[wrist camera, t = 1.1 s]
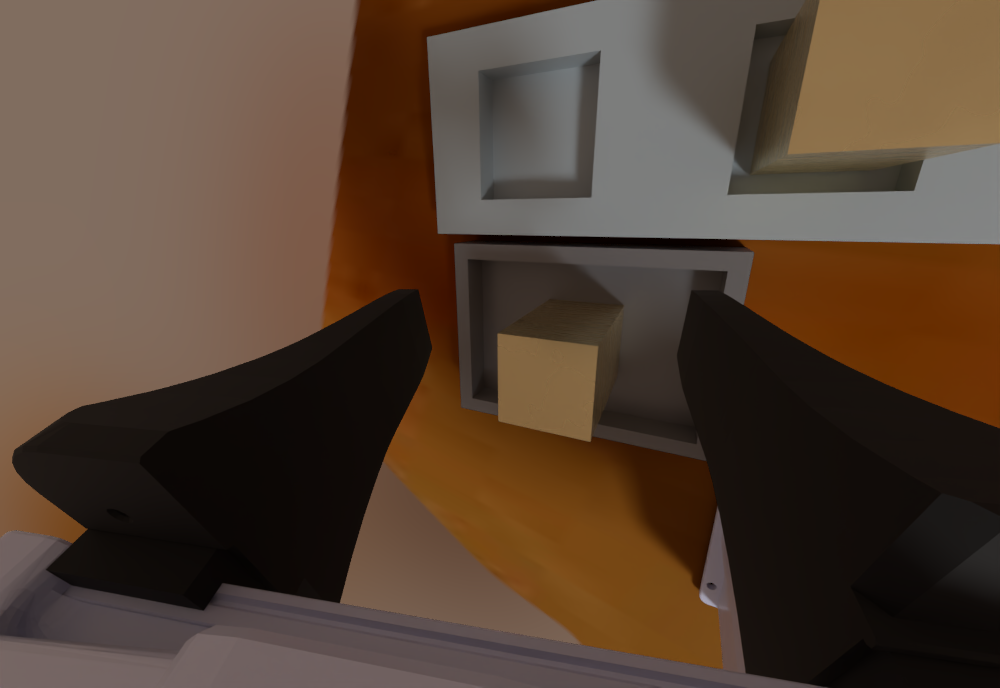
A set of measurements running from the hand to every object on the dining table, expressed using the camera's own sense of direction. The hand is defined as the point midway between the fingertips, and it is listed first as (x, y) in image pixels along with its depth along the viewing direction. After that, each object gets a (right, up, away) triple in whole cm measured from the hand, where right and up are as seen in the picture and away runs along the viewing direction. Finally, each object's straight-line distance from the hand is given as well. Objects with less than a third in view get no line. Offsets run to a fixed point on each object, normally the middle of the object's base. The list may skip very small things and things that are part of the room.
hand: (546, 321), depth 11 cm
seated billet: (+11, +8, +4) cm, 14 cm away
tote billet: (+3, 0, +11) cm, 11 cm away
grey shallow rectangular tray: (+4, 0, +12) cm, 12 cm away
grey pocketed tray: (+6, +9, +7) cm, 13 cm away
